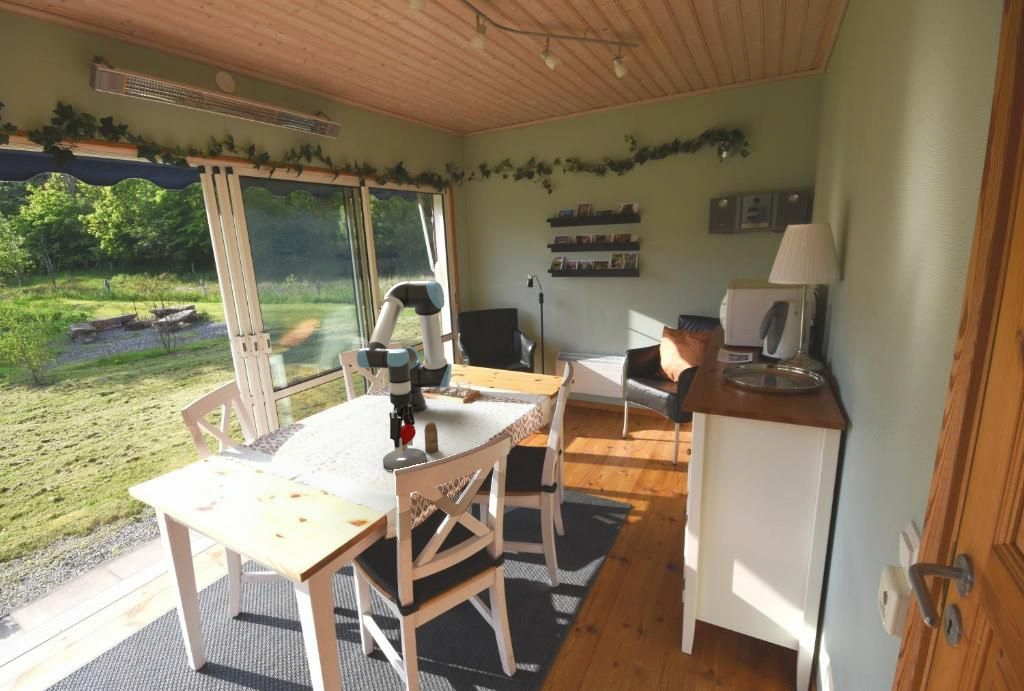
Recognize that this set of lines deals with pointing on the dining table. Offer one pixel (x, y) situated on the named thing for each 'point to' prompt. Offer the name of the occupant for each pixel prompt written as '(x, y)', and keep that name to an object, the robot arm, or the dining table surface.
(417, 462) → the disc
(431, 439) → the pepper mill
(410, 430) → the red heart
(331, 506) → the dining table surface
